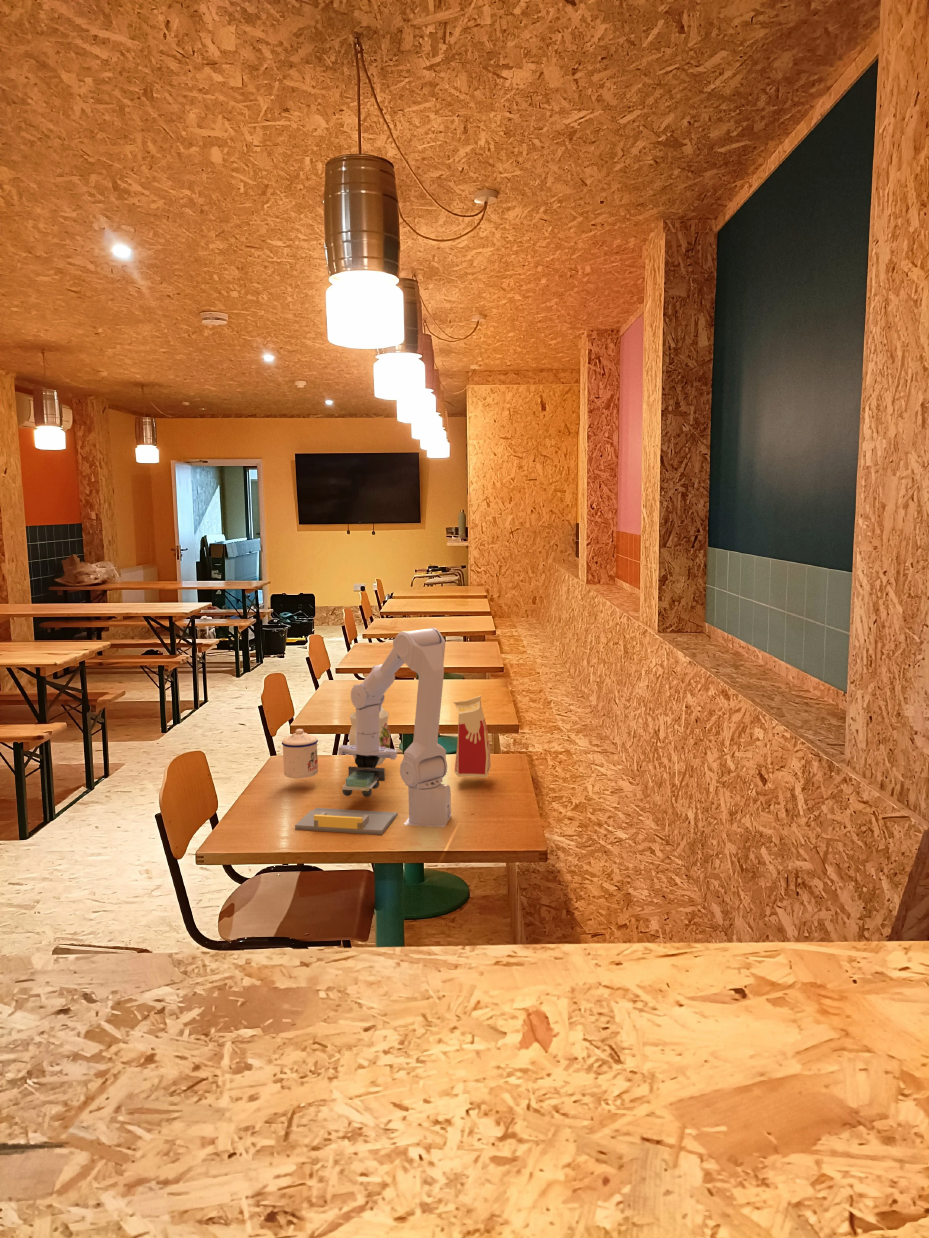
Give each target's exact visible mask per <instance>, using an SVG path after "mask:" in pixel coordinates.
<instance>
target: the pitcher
mask: <svg viewBox="0 0 929 1238" xmlns="http://www.w3.org/2000/svg"><path fill="white" fill-rule="evenodd" d="M389 716H390V715H389V712H388V711H386V710H385V709H384V707H383V706H382V707H381V712H379V746H380V747H384V748H389V749H390V746H391V731H390V726H389V724H388V720H389ZM349 719H350V725H351V727H350V730H349V733H348V740H349V745H356V711H355V712H353V713H351V714H350V715H349ZM352 757H353V759H354V760H355V759H356V755H352ZM385 760H386V758H381V757H380V759H379V761H378V763H377V765H376V767H377V766H380V765H382V764H383V763H384V761H385Z"/></svg>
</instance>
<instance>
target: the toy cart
mask: <svg viewBox="0 0 929 1238" xmlns="http://www.w3.org/2000/svg"><path fill="white" fill-rule="evenodd" d="M347 768H348V770H347V771H348V776H347V777H346V778H345V784H343V785H342V790H341V791H342V792H341V793H342V794H343V795H344V796H345V797H349V796H351V795H353V791H361V795H362V796H363V797H365V798H369V797H370V796H372V793H373V790H372V789H374V790H376V789H378V788H379V787H380V782H385V780H386V777H385V775H386V771H385V767H375V768H372V767H358V766H348V767H347Z"/></svg>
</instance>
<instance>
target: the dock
mask: <svg viewBox="0 0 929 1238" xmlns="http://www.w3.org/2000/svg"><path fill="white" fill-rule="evenodd" d="M397 816H398V811H397V812H396V811H395V812H393V811H378V810H375V811H374V810H360V809H359V810H358V809H344V808H342V809H341V808H328V807H327V808H323V807H315V808H314V809H311V810H309V811H308V813H306V814H305V816H303V817H302V818H301V819H300V820H299V821H298V822H296V823H295V825H294V830H301V831H313V832H314V831H316V832H331V833H332V832H333V833H347V834H350V833H351V834H361V835H378V836H382V835H383V834H384V833H385V831H386V830H387V829H388V828H389V826H390V825H391V823H393V821H394V820H395V819H396V817H397Z"/></svg>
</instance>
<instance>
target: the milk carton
mask: <svg viewBox="0 0 929 1238" xmlns="http://www.w3.org/2000/svg"><path fill="white" fill-rule="evenodd" d="M481 700H482V695H478V696H476V697H472V698H469V699H467V700H458V701H452V704H454V705H455V707H456V710H457V714H458V720H457V721H458V725H457V730H458V731H457V742H456V753H455V763H454V774H456V776H457V777H463V778H464V777H468V778H469V777H470V778H487V777H488V775H489V773H490V769H491V768H492V766H491V747H490V746H491V745H490V739H489V732H488V726H487V721H486V718H485V714H484V710H483V708H482V701H481Z"/></svg>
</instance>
